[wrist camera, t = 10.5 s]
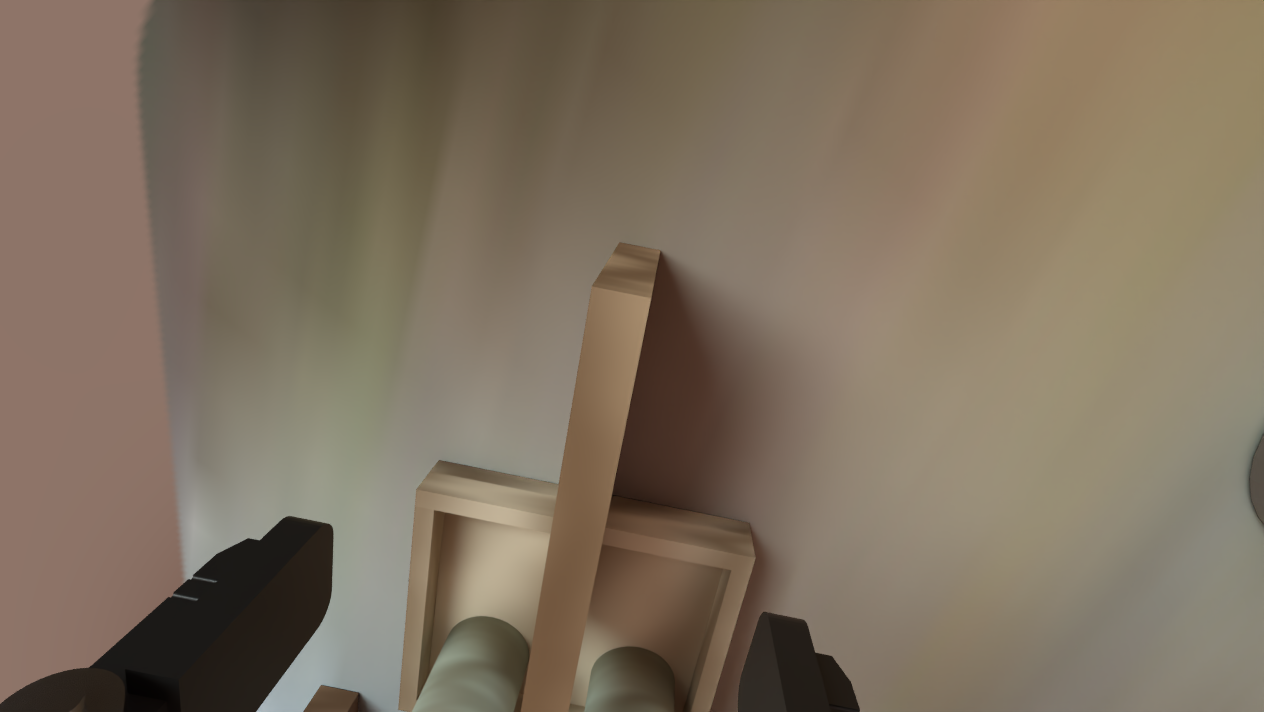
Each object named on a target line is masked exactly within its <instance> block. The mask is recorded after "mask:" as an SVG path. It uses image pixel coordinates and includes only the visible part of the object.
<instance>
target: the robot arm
mask: <svg viewBox="0 0 1264 712" xmlns="http://www.w3.org/2000/svg"><path fill="white" fill-rule="evenodd" d="M1250 489H1251V499H1252V502H1253V504H1254V507H1255V510H1256V512H1257V515H1258V517H1259V518H1260V520H1261V521H1262V522H1263V523H1264V435H1263V437H1262V440H1261V442H1260V444H1259V446H1258V449H1257V451H1256V453H1255V455H1254V459H1253V464H1252V469H1251V474H1250ZM332 565H333V528H332V526H331V525H330V524H327V523H322V522H317V521H312V520H307V519H302V518H297V517H292V516H288V517H285V518H283V519H282V520H281V521H280V522H279V523H278V524H277V525H276V526H275V527H273V528H272V529H271V530H270V531H269V532H268V533H267V534H266V535H265V536H264V537H263V538H262V539H261V540H260V541H259V540H254V539H249V538H248V539H246V540H244V541H242V542H240V543H238V544H236V545H234V546H232V547H230V548H228V549H226V550H224V551H222V552H220V553H218V554H216V555H215V556H214V557H213V558H212V559H211V560H210V561H208V562H207V563H206V564H205V565H204V566H203V567H202V568H201V569H199V570H198V571H197V572H196V573H195V574H194V575H193V578H192V579H191V580H190V579H188V580H187V581H186V582H185V583H184V584H183V585H181V586H180V587H179V588H178V589H177V590H176V591H175V592H174V594H173V596H172V597H171V598H170V597H168V598H167V599H166V600H165V601H164V602H162V603H161V604H160V605H159V606H158V607H157V608H156V609H155V610H153V611H152V613H150V614H149V615H148V616H147V617H146V618H145V619H143V620H142V621H141V622H140V623H139V624H138V625H137V626H135V627H134V628H133V629H132V630H131V631H130V632H129V633H128V634H126V635H125V636H124V637H123V638H122V639H121V640H120V641H119V642H118V643H116V645H114V646H113V647H112V648H111V649H110V650H109V651H107V652H106V653H105V654H104V655H103V656H102V657H101V658H100V659H98V660H97V661H96V662H95V663H94V664H93V665H92V666H90V667H89V668H80V669H73V670H68V671H63V672H60V673H56V674H53V675H50V676H47V677H45V678H42V679H40V680H38V681H35V682H33V683H31V684H29V685H27V686H25V687H24V688H22V689H20V690H19V691H17V692H16V693H14V694H13V695H11V696H10V697H8V698H7V699H6V700H4V701H3V702H2V703H1V704H0V712H256V711H257V710H258V708H259V707H260V706H261V704H262V703H263V701H264V700H265V699H266V697H267V696H268V695H269V693H270V692H271V691H272V689H273V688H274V687H275V685H276V684H277V683H278V681H279V680H280V679H281V677H282V676H283V675H284V673H285V672H286V670H287V669H288V668H289V666H290V665H291V664H292V662H293V661H294V660H295V658H296V657H297V656H298V654H299V653H300V652H301V650H302V649H303V648H304V646H305V645H306V643H307V642H308V641H309V639H310V638H311V637H312V635H313V634H314V633H315V631H316V630H317V629H318V627H319V626H320V624H321V622H322V620H323V618H324V616H325V614H326V611H327V609H328V606H329V603H330V598H331V592H332ZM738 712H860V709H859V706H858V702H857V699H856V696H855V693H854V690H853V687H852V684H851V682H850V680H849V679H848V678H847V676H846V675H845V673H844V672H843V671H842V669H841V668H840V667H839V665H838V664H837V663H836V661H835V660H834V658H833V657H832V656H829V655H824V654H819V653H815V651H814V647H813V643H812V640H811V636H810V632H809V629H808V626H807V623H806V622H805V620H802V619H797V618H792V617H787V616H782V615H777V614H772V613H767V612H763V613H762V614H761V616H760V618H759V621H758V624H757V627H756V630H755V633H754V637H753V640H752V643H751V646H750V649H749V653H748V656H747V659H746V662H745V665H744V669H743V672H742V675H741V679H740V685H739V693H738Z"/></svg>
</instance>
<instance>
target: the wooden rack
mask: <svg viewBox="0 0 1264 712" xmlns="http://www.w3.org/2000/svg"><path fill="white" fill-rule="evenodd" d="M358 695H359V693H357V692H352V691H347V690H342V689H337V688H332V687H328V686H323V685H321V686H320V687H319V689H318V690H317V692H316V693H315V695H314V696H313V698H312V699H311V701H310V702H309V704H308V705H307V707H306V708H305V710H304V711H303V712H358Z"/></svg>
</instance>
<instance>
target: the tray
mask: <svg viewBox="0 0 1264 712" xmlns="http://www.w3.org/2000/svg"><path fill="white" fill-rule="evenodd" d="M659 255H660V250H655V249H650V248H645V247H640V246H635V245H630V244H625V243H619V244H618V246H617V247H616V249H615V251H614V252H613V254H612V255H611V257H610V259H609V260H608V262H607V263H606V265H605V266H604V268H603V270H602V271H601V273H600V274H599V276H598V278H597V279H596V281H595V282H594V284H593V286H592V289H591V295H590V301H589V307H588V313H587V319H586V325H585V331H584V337H583V343H582V349H581V355H580V360H579V366H578V372H577V378H576V384H575V390H574V396H573V402H572V408H571V414H570V420H569V426H568V432H567V438H566V444H565V450H564V456H563V462H562V468H561V474H560V480H559V484H554V483H549V482H544V481H539V480H534V479H530V478H525V477H520V476H515V475H510V474H505V473H500V472H495V471H490V470H485V469H480V468H475V467H470V466H465V465H460V464H455V463H450V462H446V461H441V460H439V461H438V462H437V463H436V465H435V466H434V467H433V468H432V470H431V471H430V472H429V474H428V475H427V476H426V478H425V479H424V480H423V481H422V483H421V484H420V485H419V487H418V488H417V489H416V500H415V512H414V525H413V537H412V549H411V561H410V573H409V586H408V598H407V610H406V622H405V634H404V647H403V659H402V671H401V683H400V696H399V708H398V710H402V711H407V712H710V709H711V705H712V702H713V699H714V695H715V692H716V689H717V685H718V682H719V679H720V675H721V672H722V669H723V665H724V662H725V659H726V655H727V652H728V649H729V645H730V642H731V639H732V635H733V632H734V629H735V625H736V622H737V619H738V615H739V612H740V609H741V605H742V602H743V599H744V595H745V592H746V589H747V585H748V582H749V579H750V575H751V572H752V569H753V565H754V562H755V559H756V558H755V552H754V547H753V541H752V536H751V530H750V525H749V523H747V522H742V521H737V520H732V519H727V518H722V517H717V516H712V515H707V514H703V513H698V512H693V511H688V510H683V509H678V508H673V507H668V506H663V505H658V504H653V503H648V502H643V501H638V500H633V499H628V498H623V497H618V496H614V495H612V491H613V486H614V481H615V476H616V471H617V466H618V461H619V456H620V452H621V447H622V442H623V437H624V432H625V427H626V422H627V417H628V412H629V407H630V402H631V397H632V392H633V387H634V382H635V377H636V372H637V367H638V362H639V357H640V352H641V347H642V342H643V337H644V332H645V327H646V322H647V317H648V312H649V307H650V302H651V297H652V292H653V287H654V281H655V276H656V271H657V266H658V260H659Z"/></svg>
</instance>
